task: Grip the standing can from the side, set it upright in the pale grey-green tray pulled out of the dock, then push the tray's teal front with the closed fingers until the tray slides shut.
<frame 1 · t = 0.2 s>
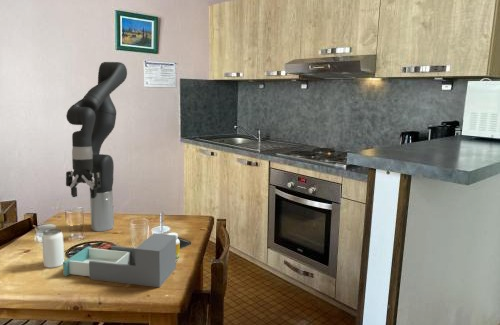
hand: (83, 197, 158), 18 cm above the table, tool pointing down, fingers open, 8 cm apart
supplement bottle: (172, 259, 144), on the table
dock: (123, 272, 132), on the table
can: (54, 264, 136), on the table
tray: (99, 262, 133), point 3 cm above the table, slide at 8.0 cm
phone: (172, 243, 160), on the table
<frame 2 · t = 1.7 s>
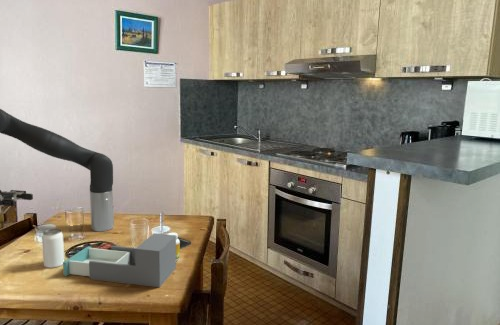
hand: (23, 200, 136), 22 cm above the table, tool horizontal, fingers open, 8 cm apart
nothing on the table moved.
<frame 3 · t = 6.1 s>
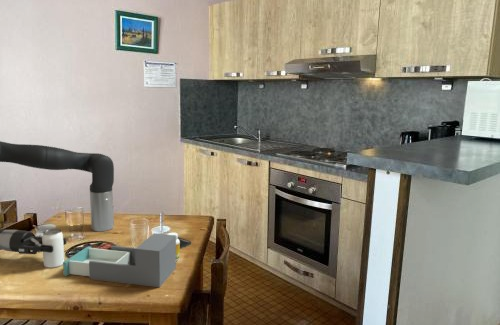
hand: (59, 245, 135), 7 cm above the table, tool horizontal, fingers closed on can, 6 cm apart
can: (54, 264, 136), on the table, touching gripper
everything else where it was.
when the fingers open (10 cm above the table, at t = 11.5 s): can drops 1 cm, resting on tray.
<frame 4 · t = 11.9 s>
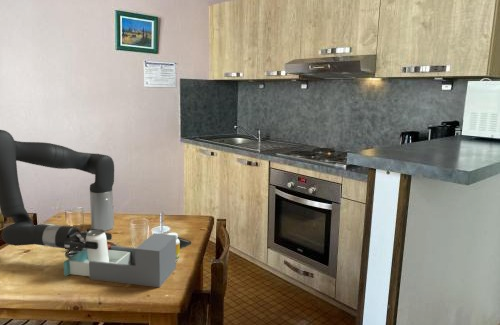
hand: (104, 241, 131), 10 cm above the table, tool horizontal, fingers open, 8 cm apart
can: (99, 266, 133), point 1 cm above the table, touching gripper, tray
tray: (99, 262, 133), point 3 cm above the table, slide at 7.9 cm, touching can
everything else where it was.
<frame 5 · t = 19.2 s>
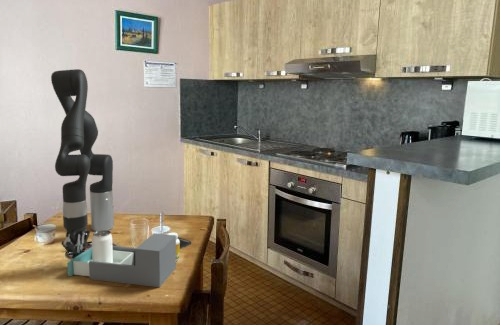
hand: (77, 261, 134), 2 cm above the table, tool pointing down, fingers closed
can: (103, 267, 133), point 1 cm above the table, touching tray
tray: (103, 262, 133), point 3 cm above the table, slide at 6.5 cm, touching can, gripper
everything else where it was.
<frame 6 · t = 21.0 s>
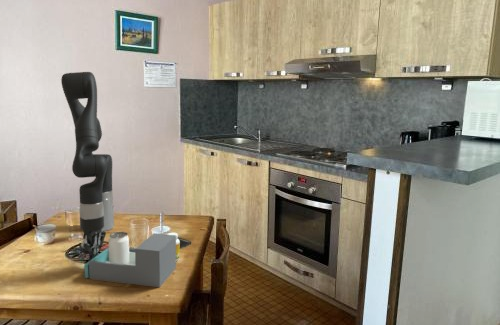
hand: (93, 263, 133), 2 cm above the table, tool pointing down, fingers closed
can: (119, 269, 132), point 1 cm above the table, touching tray
tray: (119, 264, 132), point 3 cm above the table, slide at 0.4 cm, touching can
everything else where it was.
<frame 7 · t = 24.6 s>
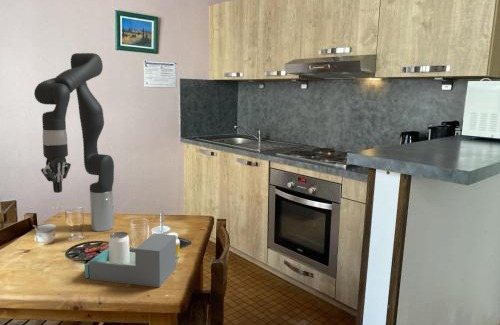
hand: (57, 192, 136), 25 cm above the table, tool pointing down, fingers closed
nothing on the table moved.
at the end: tray slide at 0.3 cm; can inside the target area (1.1 cm from its centre), point 1.1 cm above the table; can tilted 0° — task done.
